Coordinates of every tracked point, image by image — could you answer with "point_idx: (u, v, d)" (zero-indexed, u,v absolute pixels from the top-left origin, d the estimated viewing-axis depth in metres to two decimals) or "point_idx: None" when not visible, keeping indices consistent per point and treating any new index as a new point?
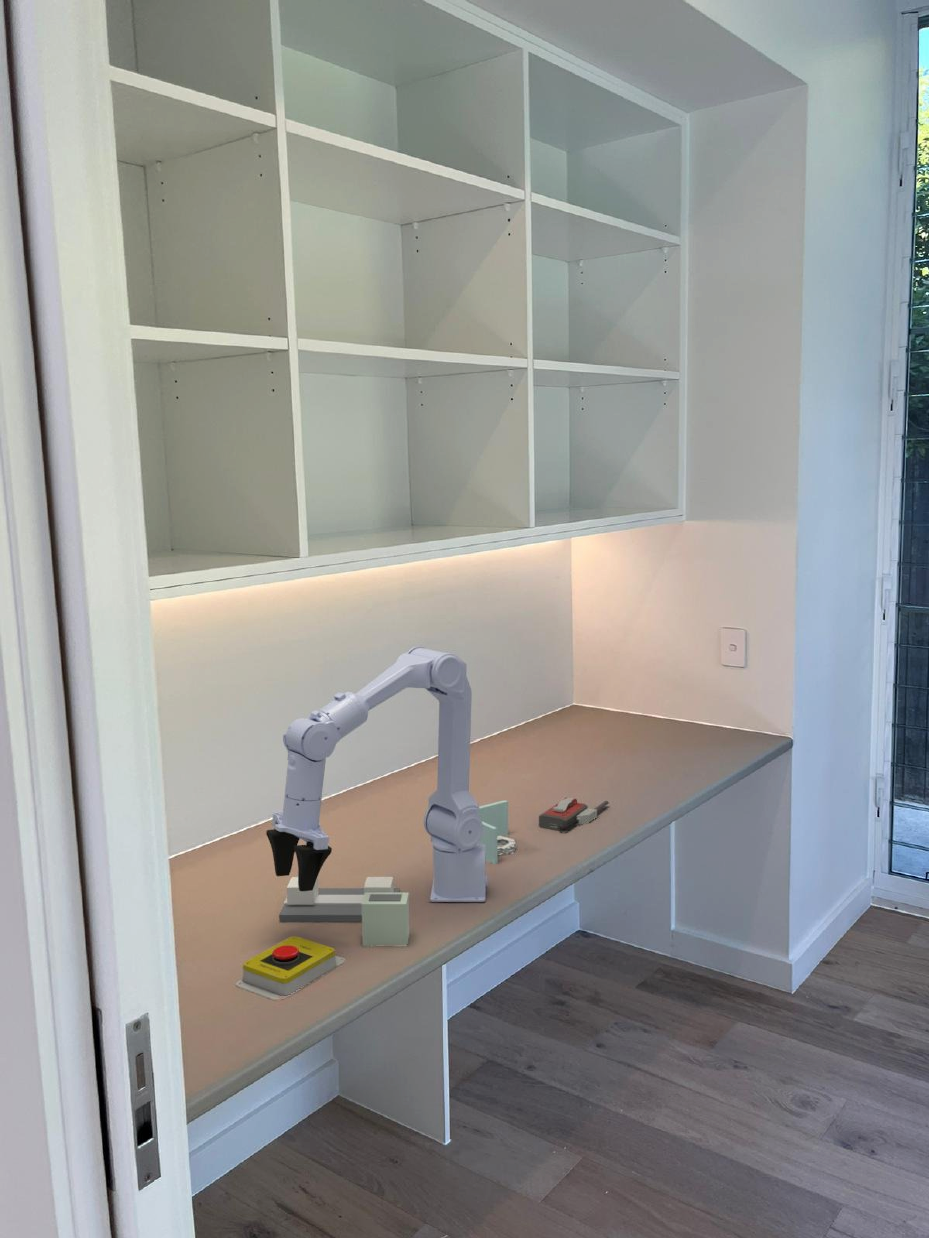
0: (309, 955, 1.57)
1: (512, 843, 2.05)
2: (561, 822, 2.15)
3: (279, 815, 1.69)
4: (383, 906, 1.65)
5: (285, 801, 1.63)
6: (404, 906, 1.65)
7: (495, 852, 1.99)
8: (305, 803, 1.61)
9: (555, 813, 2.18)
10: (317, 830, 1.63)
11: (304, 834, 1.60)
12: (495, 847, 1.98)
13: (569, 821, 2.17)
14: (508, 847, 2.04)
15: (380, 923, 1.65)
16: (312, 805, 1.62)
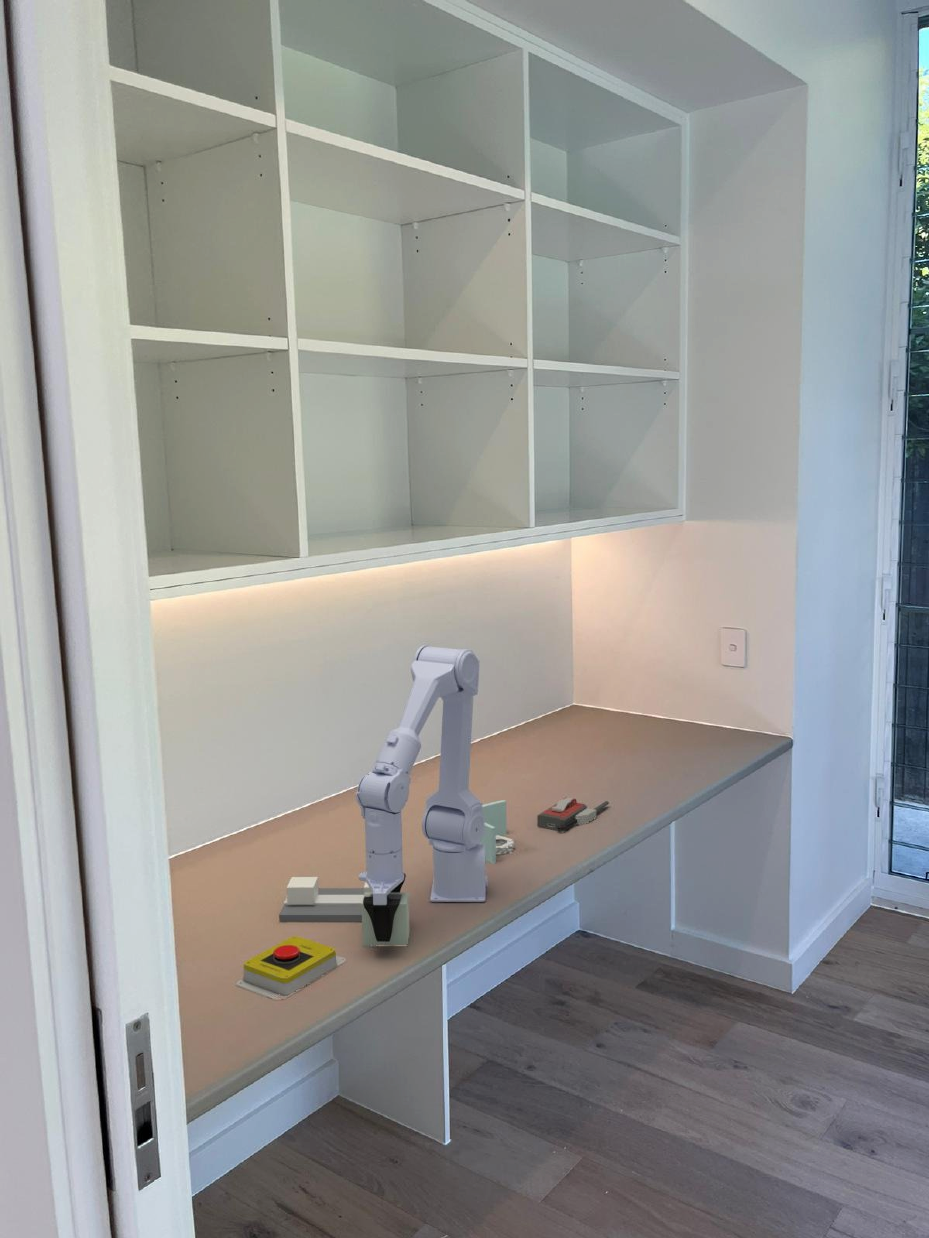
0: (309, 954, 1.57)
1: (510, 843, 2.06)
2: (560, 822, 2.15)
3: None
4: None
5: None
6: (404, 906, 1.65)
7: (493, 851, 1.99)
8: (375, 856, 1.63)
9: (554, 813, 2.19)
10: (393, 883, 1.64)
11: (371, 887, 1.62)
12: (493, 846, 1.99)
13: (567, 821, 2.17)
14: (506, 847, 2.04)
15: None
16: (382, 858, 1.63)
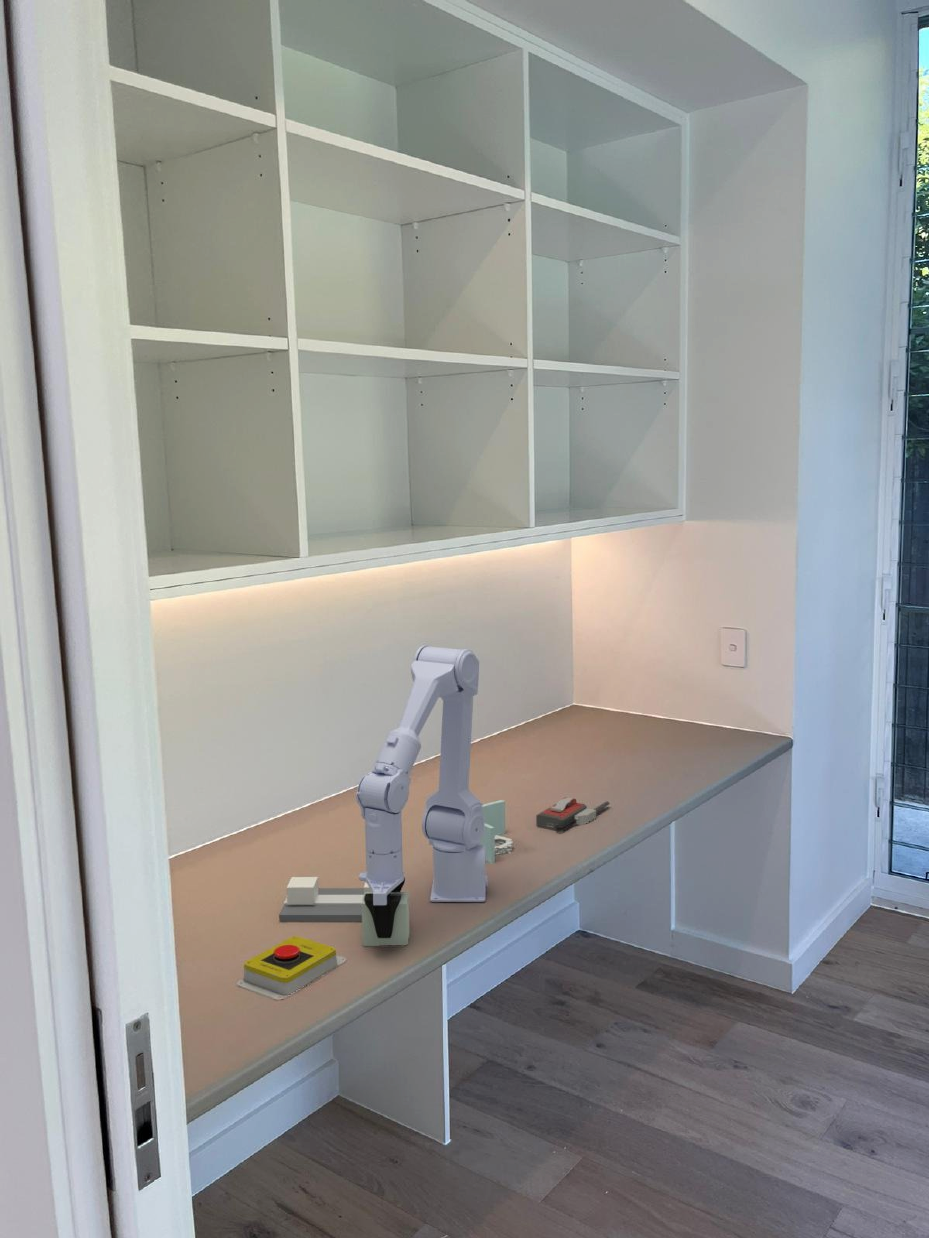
0: (310, 954, 1.58)
1: (509, 843, 2.06)
2: (558, 822, 2.15)
3: None
4: None
5: None
6: (404, 906, 1.65)
7: (492, 851, 1.99)
8: (375, 856, 1.63)
9: (553, 813, 2.19)
10: (393, 883, 1.64)
11: (371, 887, 1.62)
12: (492, 846, 1.99)
13: (566, 821, 2.17)
14: (505, 846, 2.04)
15: None
16: (382, 858, 1.63)
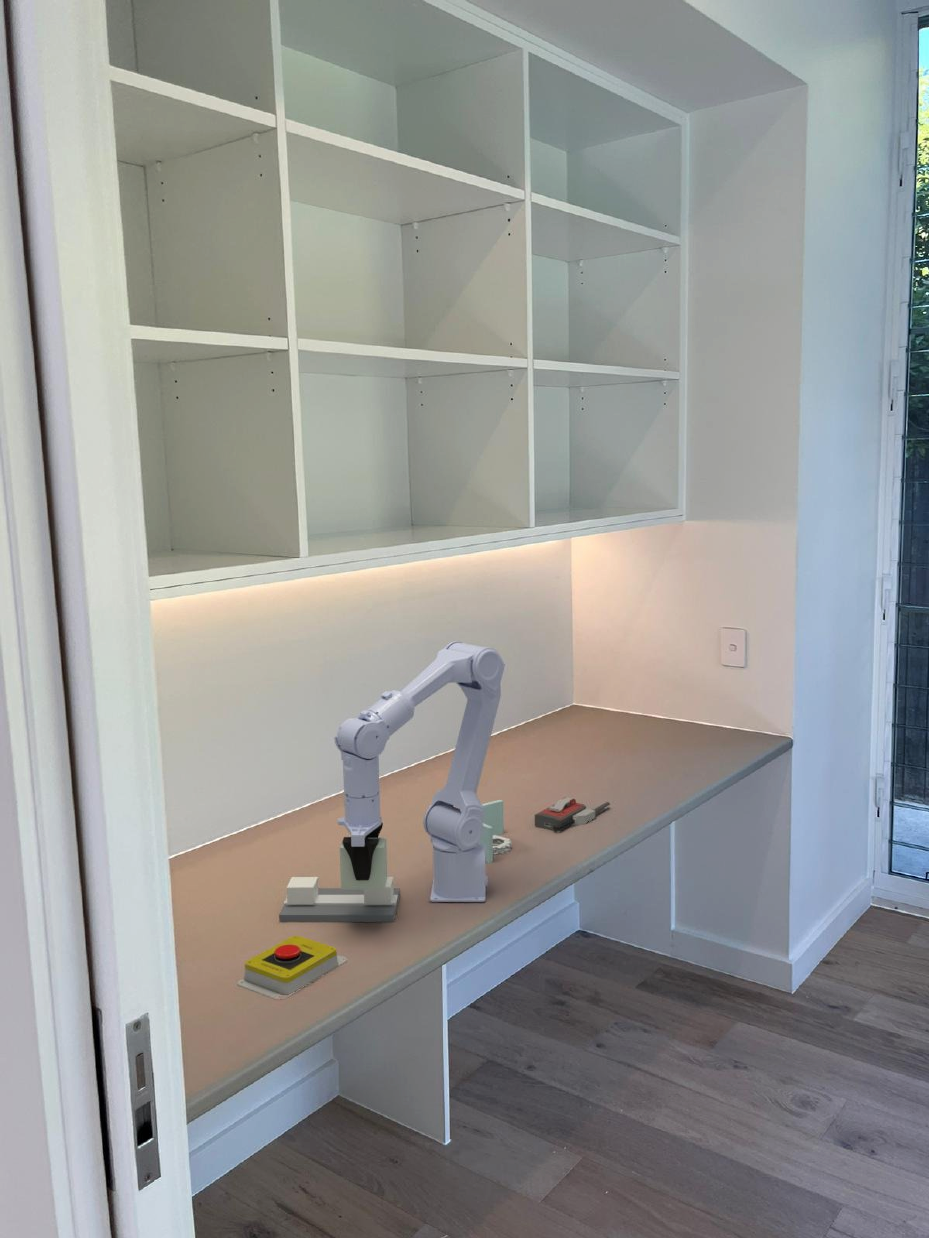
0: (310, 954, 1.58)
1: (507, 842, 2.06)
2: (556, 822, 2.15)
3: None
4: None
5: None
6: (381, 849, 1.69)
7: (490, 851, 1.99)
8: (353, 800, 1.68)
9: (551, 812, 2.19)
10: (370, 826, 1.68)
11: (349, 830, 1.66)
12: (490, 846, 1.99)
13: (564, 821, 2.17)
14: (503, 846, 2.04)
15: None
16: (360, 802, 1.67)
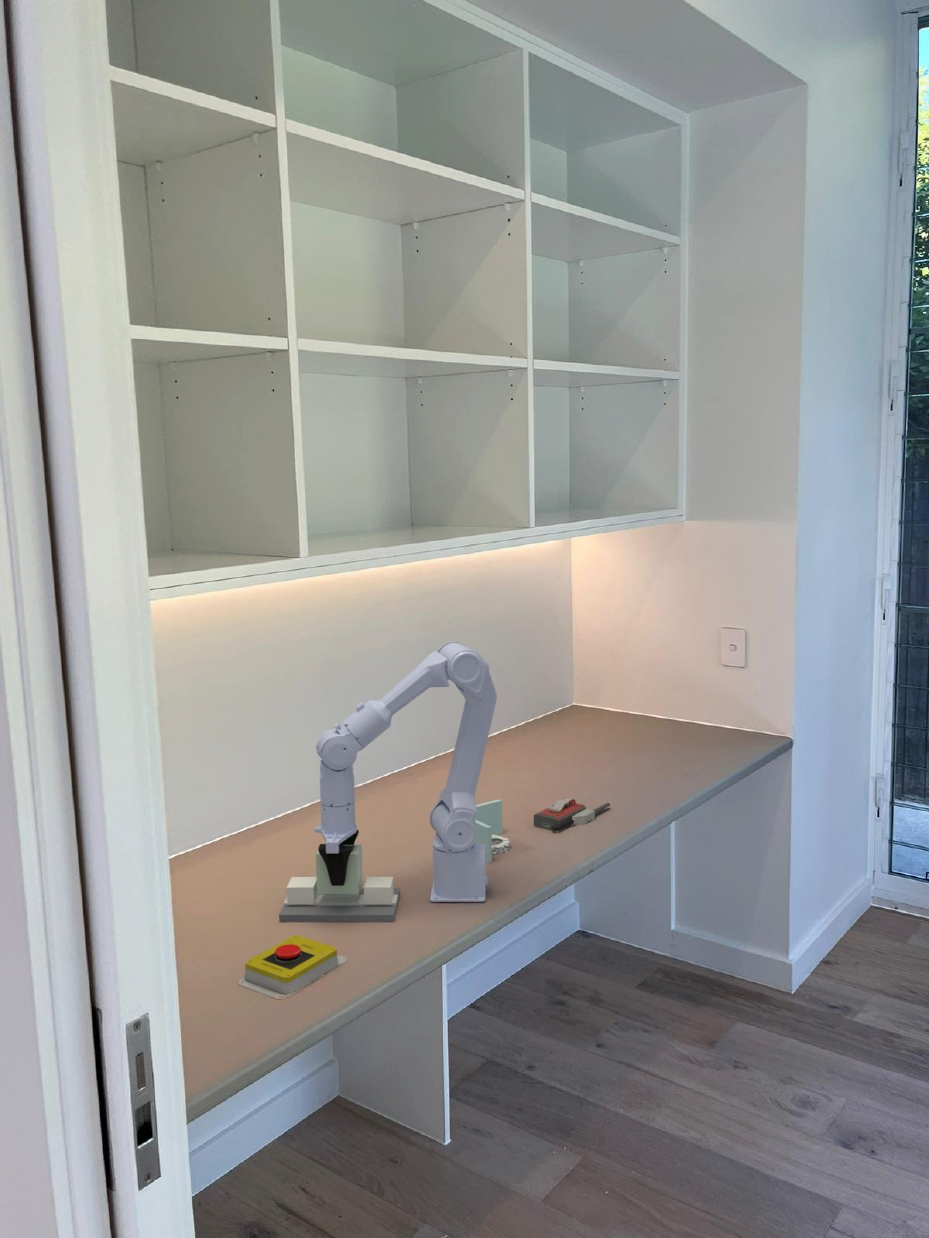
0: (311, 954, 1.58)
1: (506, 842, 2.06)
2: (554, 822, 2.15)
3: None
4: None
5: (321, 805, 1.78)
6: (355, 856, 1.76)
7: (489, 851, 1.99)
8: (329, 809, 1.75)
9: (550, 813, 2.19)
10: (345, 834, 1.75)
11: (324, 837, 1.74)
12: (489, 846, 1.99)
13: (563, 821, 2.17)
14: (502, 846, 2.04)
15: None
16: (335, 810, 1.75)
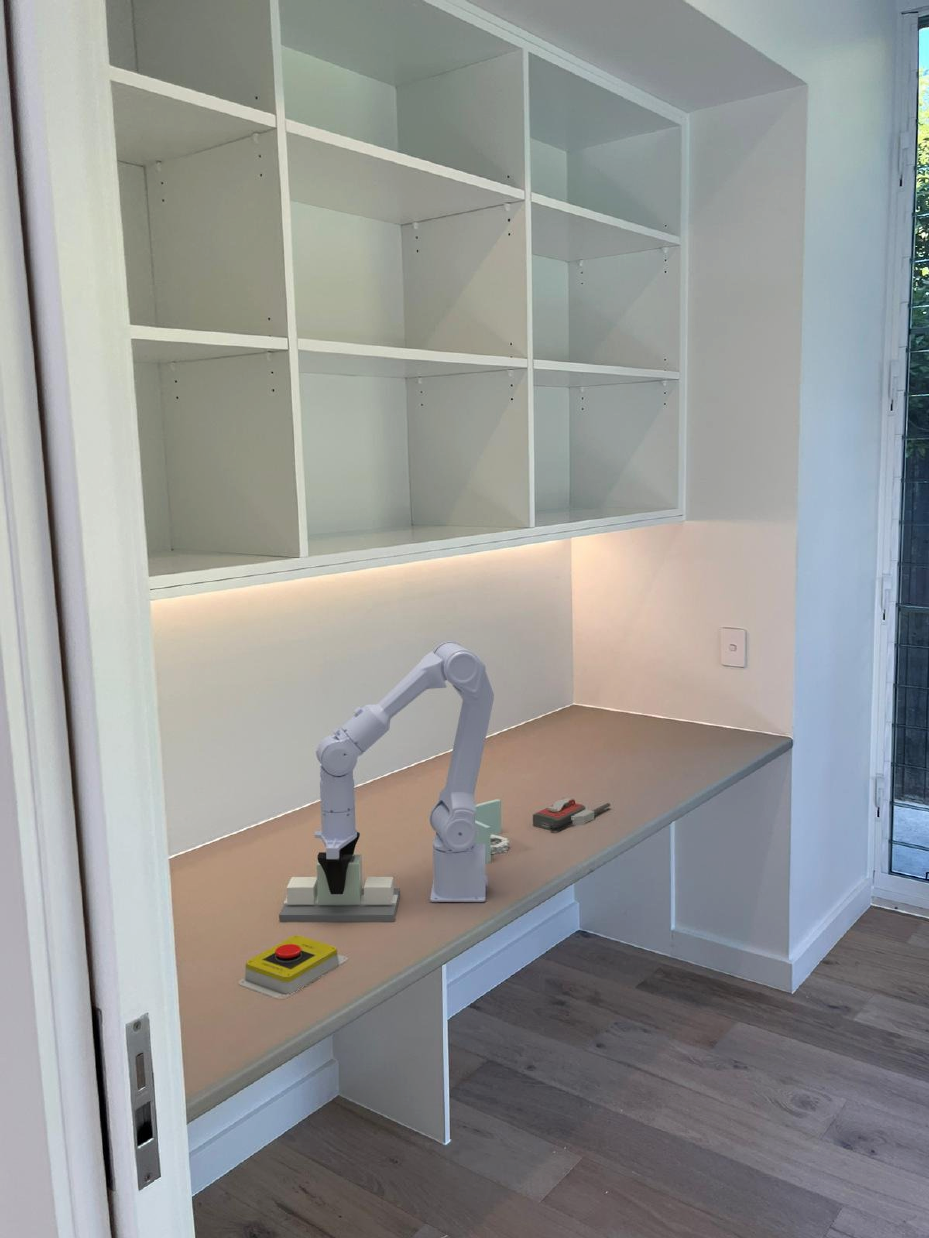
0: (311, 953, 1.58)
1: (505, 842, 2.06)
2: (553, 822, 2.16)
3: None
4: None
5: None
6: (357, 866, 1.77)
7: (488, 851, 1.99)
8: (329, 814, 1.75)
9: (549, 813, 2.19)
10: (345, 839, 1.76)
11: (325, 843, 1.74)
12: (488, 846, 1.99)
13: (561, 821, 2.17)
14: (501, 846, 2.04)
15: None
16: (335, 816, 1.75)
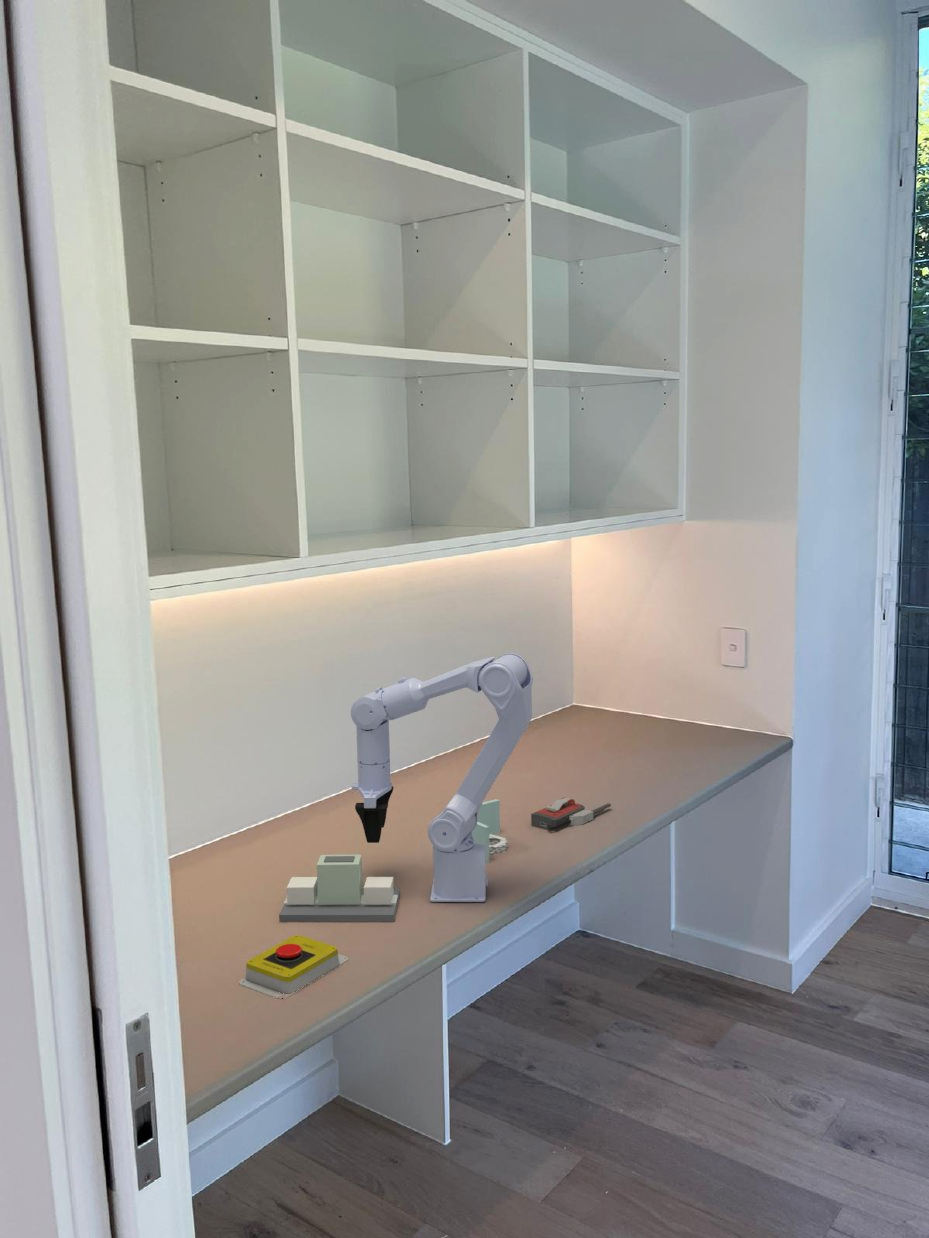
0: (312, 953, 1.58)
1: (504, 842, 2.06)
2: (551, 822, 2.16)
3: None
4: (337, 867, 1.77)
5: None
6: (357, 866, 1.77)
7: (487, 850, 1.99)
8: (366, 766, 1.84)
9: (547, 812, 2.19)
10: (381, 790, 1.84)
11: (362, 793, 1.83)
12: (487, 845, 1.99)
13: (559, 821, 2.17)
14: (500, 846, 2.05)
15: (335, 882, 1.77)
16: (372, 768, 1.84)
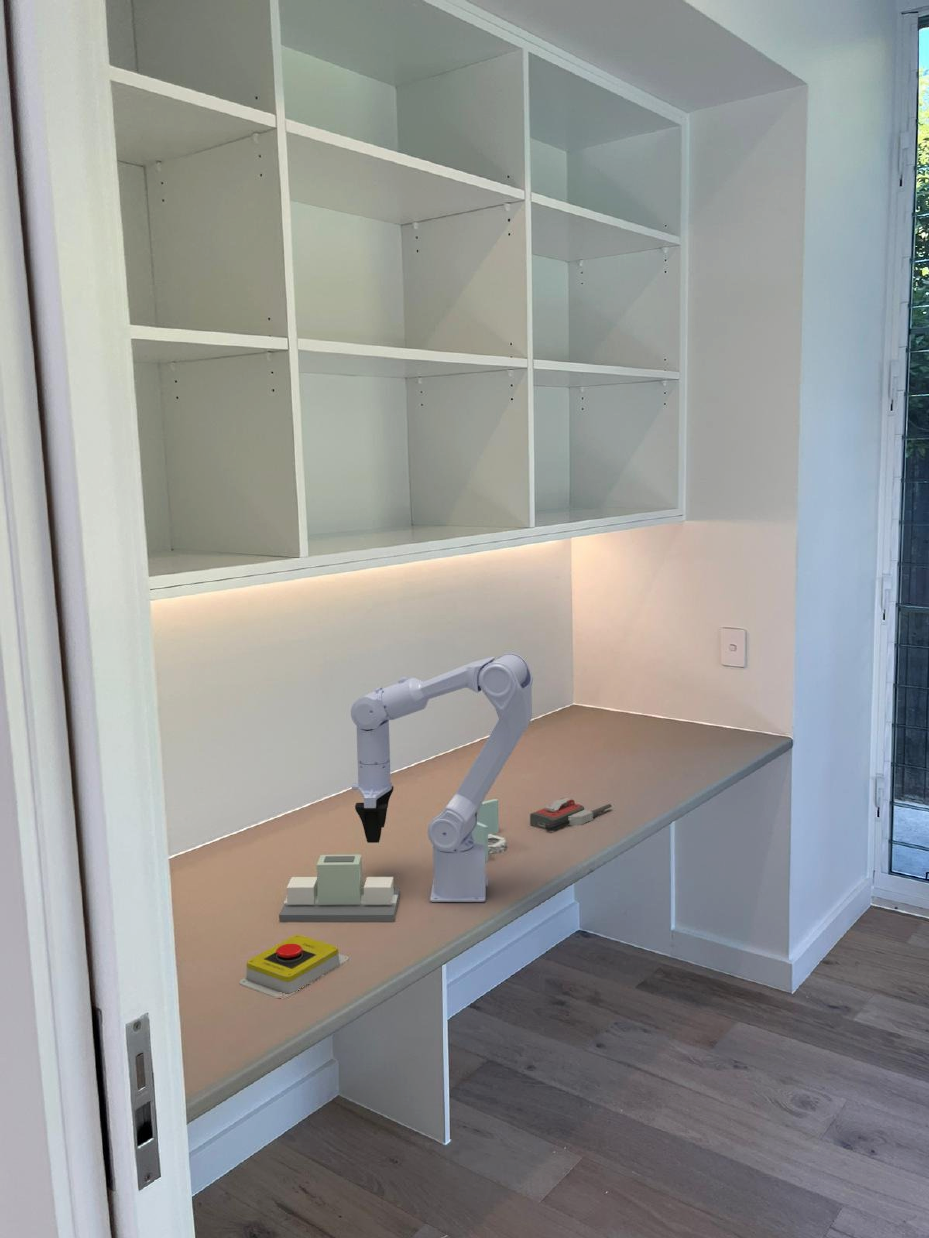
0: (312, 953, 1.58)
1: (502, 841, 2.06)
2: (549, 822, 2.16)
3: None
4: (337, 867, 1.77)
5: None
6: (357, 866, 1.77)
7: (486, 850, 2.00)
8: (366, 766, 1.84)
9: (546, 812, 2.19)
10: (381, 790, 1.84)
11: (362, 793, 1.83)
12: (486, 845, 1.99)
13: (558, 821, 2.17)
14: (499, 845, 2.05)
15: (335, 882, 1.77)
16: (372, 768, 1.84)
